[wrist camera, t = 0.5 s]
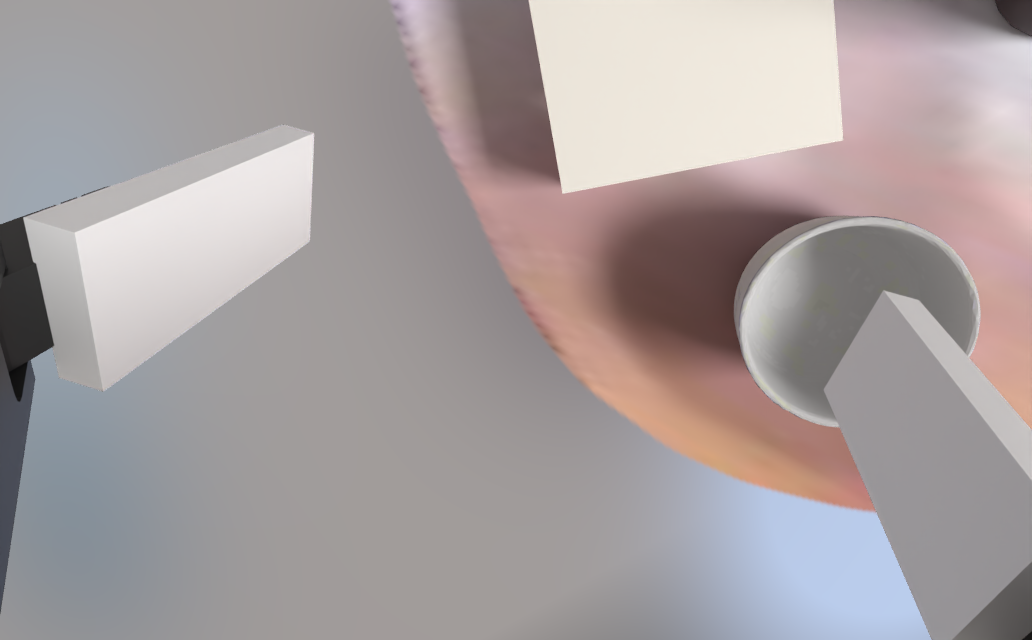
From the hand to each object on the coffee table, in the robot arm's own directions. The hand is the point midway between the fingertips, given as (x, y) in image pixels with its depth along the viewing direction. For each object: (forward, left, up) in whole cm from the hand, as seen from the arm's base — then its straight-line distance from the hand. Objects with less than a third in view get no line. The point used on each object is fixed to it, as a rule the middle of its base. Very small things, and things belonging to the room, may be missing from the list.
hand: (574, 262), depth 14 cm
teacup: (+2, +14, -26) cm, 30 cm away
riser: (-8, -2, -26) cm, 27 cm away
